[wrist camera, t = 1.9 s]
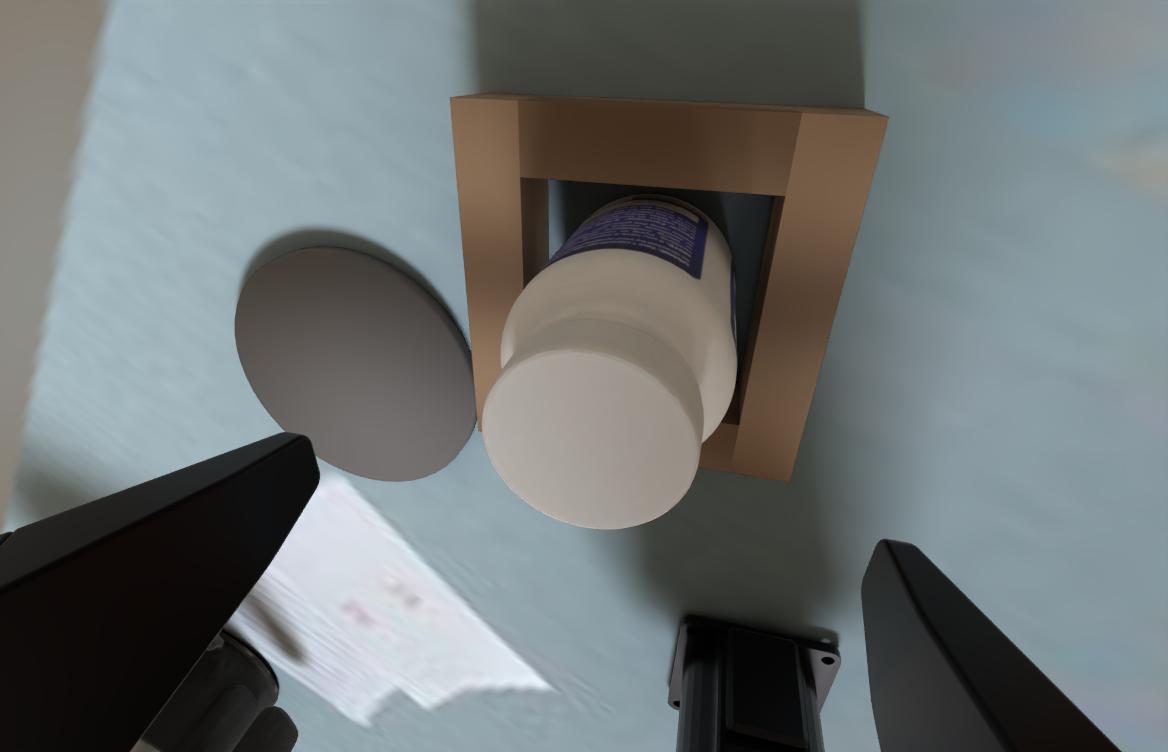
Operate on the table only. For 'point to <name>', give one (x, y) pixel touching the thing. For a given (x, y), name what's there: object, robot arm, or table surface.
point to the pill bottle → (616, 365)
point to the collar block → (687, 161)
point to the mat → (357, 362)
